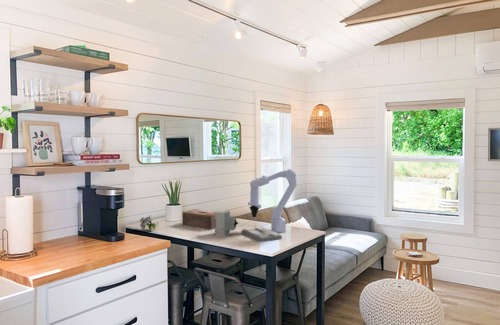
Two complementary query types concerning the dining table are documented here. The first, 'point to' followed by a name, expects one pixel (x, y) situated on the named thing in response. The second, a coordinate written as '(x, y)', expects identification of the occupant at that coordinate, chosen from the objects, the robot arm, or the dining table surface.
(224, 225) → the circuit breaker
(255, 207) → the robot arm
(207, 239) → the dining table surface
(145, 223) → the passion flower
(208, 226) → the tissue box cover
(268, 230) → the switch
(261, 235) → the breaker panel
